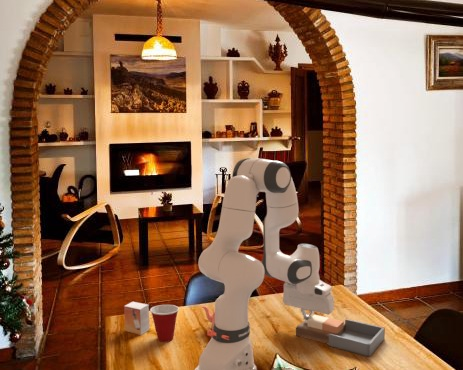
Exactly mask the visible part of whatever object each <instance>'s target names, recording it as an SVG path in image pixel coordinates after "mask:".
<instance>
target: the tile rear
mask: <svg viewBox="0 0 463 370" xmlns="http://www.w3.org/2000/svg"><path fill="white" fill-rule="evenodd" d="M328 318H329V317H327V316H323V315H318V314H313V315H312V317H311V318H309V319H308V326H309V327H313V328H317V329H321V330H322V323H323V322H325V321H326V320H327V319H328Z"/></svg>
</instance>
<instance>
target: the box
mask: <svg viewBox="0 0 463 370" xmlns="http://www.w3.org/2000/svg"><path fill="white" fill-rule="evenodd" d="M344 324H346V330H345V331H344V332H343V333H342V334H341V335H340V336H338V335H334V334H329V344H328V347H330V346H331V348H334V347H335V349H337V348H338V349H337V350H341V349H342V351H345V352H350V353H353V354H356V355H360V356H363V355H364V356H363V357H367V358H370V357H371V356H372V355H373V354H374V352H376V350H377V349H378V348H377V347H380V346H381V344H382V343H383V342H384V341H385V340H386V339H385V338H386V337H385V331H386V328H385V327H383V326H379V325H374V324H370V323H366V322H362V321H358V320H354V319H353V320H352V319H348V318H345V319H344ZM382 341H383V342H382ZM381 342H382V343H381Z"/></svg>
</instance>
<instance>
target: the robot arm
mask: <svg viewBox="0 0 463 370" xmlns="http://www.w3.org/2000/svg"><path fill="white" fill-rule="evenodd" d="M260 192H262V193H265V200H266V215H265V216H264V219H263V232H262V234H263V235H262V236H263V256H262V261H260V260H259V259H257V258H255V257H254V256H251V255H249V254H246V253H242V252H239V248H240V246H241V244H242V243H243V241H246V240H247V239H249V238H250V237H251V236H252V234H253V232H254V231H253V229H254V224H255V216H256V209H257V196H258V195H259V193H260ZM223 194H224V195H223V199H222V207H221V212H220V216H219V217H220V218H219V224H218V228H217V232H216V234H215V237H214V239H213V241H212V242H211V244H210V245H209V246H208V247H207V248H205V249H204V250H203V251H202V252H201V254H200V256H199V258H198V264H197V266H198V268H199V271H200V272H201V273H202V275H205V276H206V278H208V279H210V280H213V281H216V282H219V283H221V284H224V291H223V294H220V295H219V297H218V298H216V299H215V301H214V309H215V323H214V327H213V331H212V329H208V330H207V332H206V335H207V336H208V337H211V338H210V340H209V341H208V343H207V345H206V346H205V348H204V349H203V351H202V353H201V354H200V356H199V360H198V365H197V366H196V367H195V369H194V370H258V368H257V367H258V366H257V365H256V364H255V361H254V350H253V345H252V344H253V343H252V342H251V339H250V334H251V332H250V331H251V326H250V322H249V301H250V297H251V296H252V293H253V292H254V291H255V290H256V289H258V288H259V287H260V286H261V285H262V283H263V282H264V279H265V276H266V277H269V278H271V279H272V278H273V279H276V280H279V281H282V282H284V283H283V296H282V303H283V305H285V306H288V307H292V308H293V307H294V308H297V309H300V312H301V314H302V317H303V320H304V321H305V320H308V319H309V318H311V317H312V316H313V315H314V314H315V313H320V314H324V315H330V314H332V313H333V311H334V310H335V301H334V296H333V294H332V290H333V286H331V285H330V284H328V283H326V282H324V281H323V280H321V279H320V274H319V271H320V252H319V248H318V247H317V246H316V245H313V244H309V243H299V244H298V245H297V248H296V250H295V251H294V252H293V253H292V254H290V255H288V254H285V253H283V252H282V251H281V249H280V230H281V229H284V228H287V227H289V226H291V225H292V224H294V223H295V222H296V220H297V219H298V218H299V212H300V211H299V208H300V207H299V202H298V201H299V200H298V195H297V194H298V193H297V191H296V187H295V183H294V181H293V177H292V173H291V170H290V168H289V166H288V165H287V164H286V163H284V162H283V161H279V160H271V159H266V158H261V157H260V158H258V157H256V158H250V157H249V158H243V159H240V160H238V161H237V162H236V164H235V165H234V168H233V171H232V177H231V178H230V179H229V180H228V182H227V185H226V188H225V192H224V193H223ZM306 310H307V311H308V313H307V311H306Z"/></svg>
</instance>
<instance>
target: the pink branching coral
mask: <svg viewBox="0 0 463 370" xmlns="http://www.w3.org/2000/svg"><path fill="white" fill-rule="evenodd" d="M200 308H203V309H204V311H205V314H206V319H207V321H208V322H210V323H211V330H212V331H213V327H214V323H215V308H214V310H213V313H212V314H211V312H210V310H209V307H208V306H206V305H200Z"/></svg>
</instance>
